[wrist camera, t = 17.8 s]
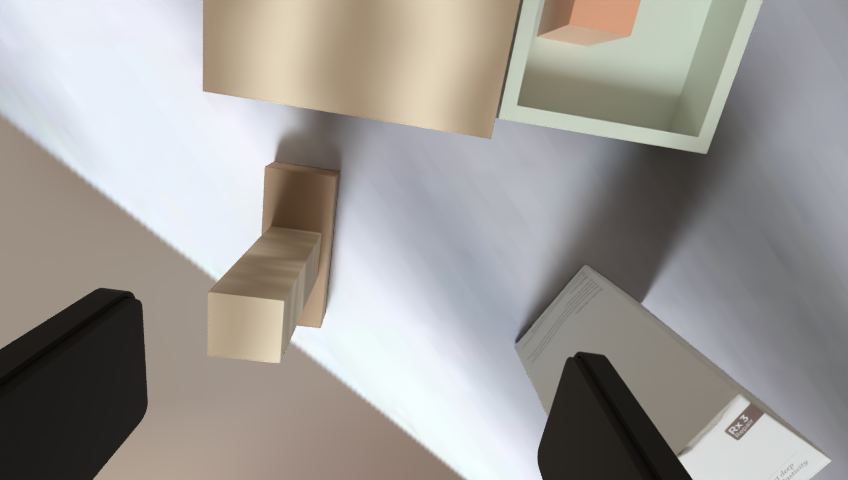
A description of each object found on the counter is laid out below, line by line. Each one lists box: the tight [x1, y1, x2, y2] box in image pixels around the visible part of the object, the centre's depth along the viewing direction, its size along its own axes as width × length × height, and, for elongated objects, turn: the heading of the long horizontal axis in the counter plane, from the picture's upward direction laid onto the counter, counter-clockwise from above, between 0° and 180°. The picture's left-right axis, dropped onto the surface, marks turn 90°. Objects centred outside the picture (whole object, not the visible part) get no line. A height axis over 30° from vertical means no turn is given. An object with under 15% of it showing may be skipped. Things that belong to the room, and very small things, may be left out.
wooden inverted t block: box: [208, 162, 340, 363], centre depth 23 cm, size 4×10×11 cm, turn 171°
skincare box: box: [514, 265, 831, 480], centre depth 24 cm, size 8×6×15 cm
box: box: [496, 0, 763, 154], centre depth 23 cm, size 12×14×4 cm
